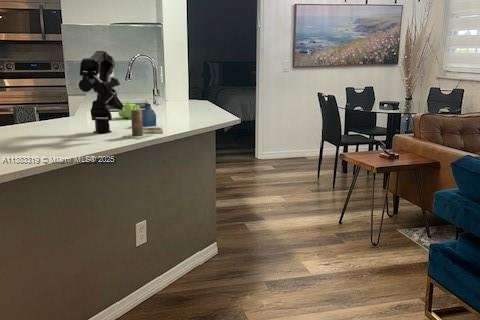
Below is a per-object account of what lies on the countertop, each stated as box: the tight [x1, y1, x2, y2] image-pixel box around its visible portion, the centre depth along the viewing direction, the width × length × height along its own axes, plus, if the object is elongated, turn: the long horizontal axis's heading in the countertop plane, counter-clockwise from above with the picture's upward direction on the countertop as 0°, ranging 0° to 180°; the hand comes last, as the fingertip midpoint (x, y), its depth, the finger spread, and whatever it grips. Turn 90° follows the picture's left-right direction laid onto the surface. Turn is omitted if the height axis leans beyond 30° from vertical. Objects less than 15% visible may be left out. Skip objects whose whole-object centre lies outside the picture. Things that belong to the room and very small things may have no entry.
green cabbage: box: [116, 101, 141, 120], centre depth 273 cm, size 12×12×10 cm
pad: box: [122, 133, 153, 140], centre depth 219 cm, size 10×10×1 cm
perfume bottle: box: [141, 102, 157, 128], centre depth 248 cm, size 6×6×12 cm
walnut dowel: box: [130, 109, 144, 136], centre depth 217 cm, size 5×5×12 cm
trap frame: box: [142, 126, 164, 135], centre depth 231 cm, size 11×11×1 cm
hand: (122, 108), depth 214 cm, fingers open, 9 cm apart
